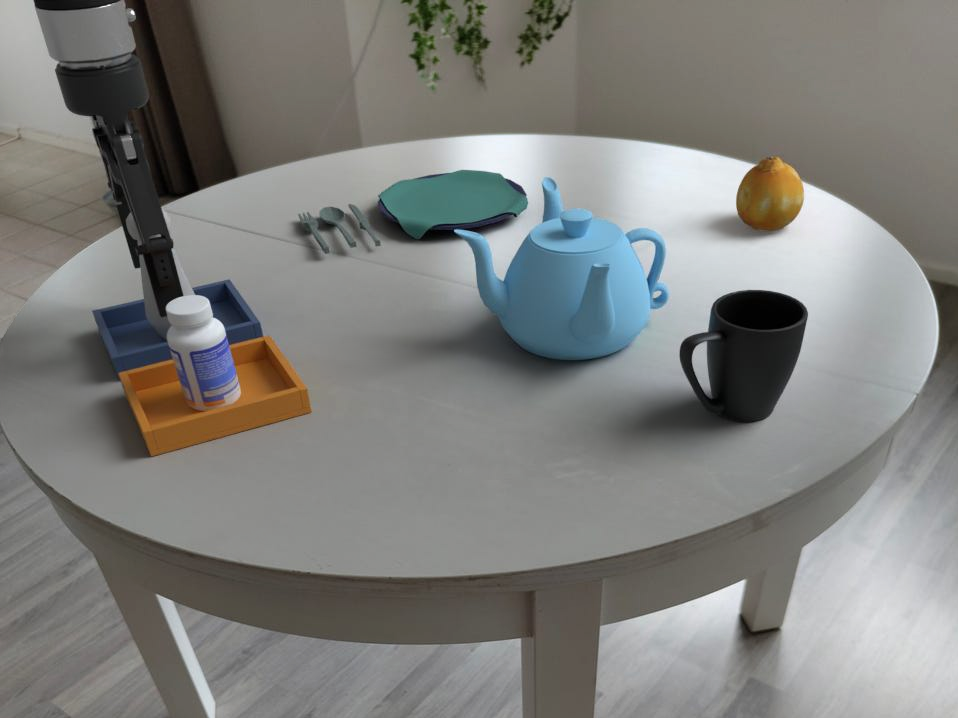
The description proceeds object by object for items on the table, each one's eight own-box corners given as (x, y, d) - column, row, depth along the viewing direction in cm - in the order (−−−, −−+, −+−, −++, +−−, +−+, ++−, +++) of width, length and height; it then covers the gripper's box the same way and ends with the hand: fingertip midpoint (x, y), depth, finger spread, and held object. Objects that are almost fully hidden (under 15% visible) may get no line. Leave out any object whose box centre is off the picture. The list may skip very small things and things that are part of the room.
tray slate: (119, 381, 97) (111, 358, 95) (99, 332, 105) (91, 310, 103) (265, 344, 101) (260, 321, 99) (234, 300, 110) (229, 278, 108)
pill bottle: (250, 387, 94) (227, 292, 87) (228, 415, 90) (202, 319, 83) (200, 383, 95) (174, 289, 88) (176, 410, 91) (147, 315, 84)
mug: (647, 409, 88) (656, 312, 82) (750, 376, 92) (767, 281, 85) (699, 451, 83) (713, 351, 76) (806, 414, 86) (829, 316, 80)
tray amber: (151, 456, 86) (142, 432, 84) (125, 396, 95) (117, 372, 93) (311, 412, 91) (307, 388, 89) (274, 357, 99) (269, 334, 97)
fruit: (711, 203, 118) (749, 150, 111) (751, 191, 122) (790, 140, 115) (750, 253, 117) (790, 203, 110) (788, 240, 121) (830, 191, 114)
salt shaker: (144, 344, 101) (105, 221, 92) (165, 320, 105) (130, 199, 96) (194, 346, 100) (160, 222, 91) (214, 322, 104) (183, 200, 95)
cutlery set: (549, 225, 122) (549, 207, 120) (324, 267, 115) (321, 248, 114) (496, 177, 135) (495, 160, 133) (292, 212, 129) (289, 195, 127)
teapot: (455, 348, 99) (447, 229, 90) (545, 281, 110) (546, 169, 101) (600, 388, 92) (606, 263, 83) (681, 312, 102) (694, 195, 94)
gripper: (166, 83, 77) (224, 327, 92) (113, 26, 94) (169, 240, 109) (73, 97, 75) (147, 344, 90) (35, 36, 92) (103, 254, 106)
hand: (159, 288), depth 99 cm, fingers open, 13 cm apart
